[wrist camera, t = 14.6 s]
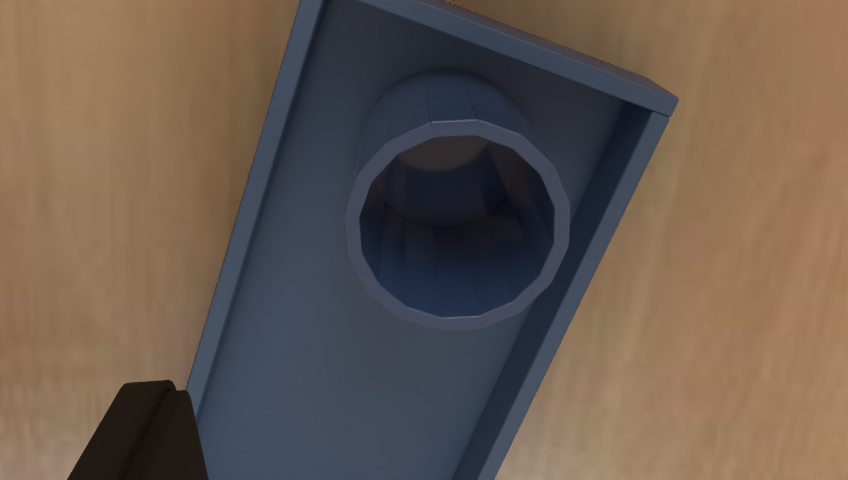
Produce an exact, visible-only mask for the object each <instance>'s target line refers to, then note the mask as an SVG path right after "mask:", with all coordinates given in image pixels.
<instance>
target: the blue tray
mask: <svg viewBox="0 0 848 480" xmlns="http://www.w3.org/2000/svg"><path fill="white" fill-rule="evenodd" d="M435 68H456V69H462V70H466V71H470V72H473V73H476V74H478V75H480V76H483V77H485V78H487V79H488V80H490V81H492V82H493V83H495V84H496V85H497V86H498V87H500V88H501V89H502V90H503V91H504V92H505V93H506V94H507V95H508V96H509V97H510V98H511V100H512V101H513V102H514V103H515V104H516V105H517V106H518V107H519V109H520V111H521V112H522V114H523V115H524V117H525V119H526V120H527V122H528V124H529V125H530V127H531V129H532V130H533V132H534V134H535V135H536V137H537V138H538V140H539V142H540V143H541V145H542V147H543V148H544V150H545V152H546V153H547V155H548V156H549V158H550V160H551V161H552V163H553V165H554V166H555V169H556V171H557V173H558V176H559V178H560V181H561V183H562V185H563V188H564V190H565V193H566V195H567V197H568V200H569V204H570V229H569V245H568V249H567V251H566V253H565V255H564V257H563V259H562V261H561V264H560V266H559V268H558V270H557V272H556V274H555V276H554V279H553V281H552V282H551V283H550V285H549V286H548V287H547V288H546V289H545V290H544V291H543V292H542V293H540V294H539V295H538V296H537V297H536V298H535V299H534V300H533V301H532V302H531V303H530V304H529V305H528V306H527V307H526V308H524V309H523V310H522V311H520V312H519V313H517V314H515V315H513V316H510V317H508V318H505V319H503V320H501V321H498V322H496V323H494V324H491V325H489V326H486V327H484V328H480V329H463V330H444V331H440V330H435V329H432V328H429V327H426V326H422V325H419V324H416V323H413V322H409V321H406V320H403V319H400V317H399V318H398V317H397V316H396V315H394V314H393V313H392V312H391V311H389V310H388V309H387V308H386V307H384V306H383V305H382V304H380V303H379V302H378V301H377V300H375V299H374V298H373V297H372V296H370V295H369V294H368V293H367V292H366V291H365V289H364V287H363V285H362V283H361V281H360V280H359V278H358V276H357V274H356V272H355V271H354V269H353V267H352V265H351V263H350V262H349V260H348V256H347V254H346V243H345V232H344V220H343V215H344V209H345V204H346V199H347V194H348V188H349V183H350V178H351V173H352V168H353V163H354V158H355V152H356V147H357V143H358V140H359V137H360V134H361V131H362V127H363V124H364V122H365V119H366V117H367V115H368V113H369V111H370V109H371V108H372V106H373V105H374V103H375V102H376V101H377V100H378V98H379V97H380V96H381V95H382V94H383V93H384V92H385V91H386V90H387V89H388V88H390V87H391V86H392V85H394V84H395V83H396V82H398V81H400V80H401V79H403V78H405V77H407V76H409V75H412V74H414V73H417V72H420V71H424V70H428V69H435ZM678 101H679V99H678V98H677V97H676V96H674V95H673V94H671V93H670V92H668V91H667V90H665V89H664V88H662V87H661V86H659V85H658V84H656V83H655V82H653V81H652V80H650V79H648V78H645V77H643V76H640V75H637V74H635V73H632V72H629V71H627V70H624V69H621V68H619V67H616V66H614V65H611V64H608V63H606V62H603V61H600V60H598V59H595V58H592V57H590V56H587V55H584V54H582V53H579V52H577V51H574V50H571V49H569V48H566V47H563V46H561V45H558V44H555V43H553V42H550V41H547V40H545V39H542V38H540V37H537V36H534V35H532V34H529V33H526V32H524V31H521V30H518V29H516V28H513V27H510V26H508V25H505V24H502V23H500V22H497V21H495V20H492V19H489V18H487V17H484V16H481V15H479V14H476V13H473V12H471V11H468V10H465V9H463V8H460V7H458V6H455V5H452V4H450V3H447V2H444V1H442V0H300V3H299V6H298V10H297V13H296V16H295V20H294V23H293V27H292V30H291V33H290V37H289V40H288V44H287V47H286V50H285V54H284V57H283V61H282V64H281V67H280V71H279V74H278V78H277V81H276V84H275V88H274V91H273V95H272V98H271V101H270V105H269V108H268V112H267V115H266V118H265V122H264V125H263V129H262V132H261V135H260V139H259V142H258V146H257V149H256V152H255V156H254V159H253V163H252V166H251V169H250V173H249V176H248V180H247V183H246V186H245V190H244V193H243V197H242V200H241V203H240V207H239V210H238V214H237V217H236V220H235V224H234V227H233V231H232V234H231V237H230V241H229V244H228V248H227V251H226V254H225V258H224V261H223V265H222V268H221V271H220V275H219V278H218V282H217V285H216V288H215V292H214V295H213V299H212V302H211V306H210V309H209V312H208V316H207V319H206V323H205V326H204V329H203V333H202V336H201V340H200V343H199V346H198V350H197V353H196V357H195V360H194V363H193V367H192V370H191V374H190V377H189V380H188V384H187V387H186V391H188V393H189V395H190V398H191V401H192V405H193V410H194V415H195V419H196V424H197V428H198V433H199V437H200V442H201V446H202V451H203V455H204V460H205V465H206V469H207V474H208V478H209V480H494V478H495V476H496V474H497V472H498V470H499V468H500V466H501V464H502V462H503V460H504V458H505V456H506V454H507V452H508V450H509V448H510V446H511V444H512V441H513V439H514V437H515V435H516V433H517V431H518V429H519V427H520V425H521V423H522V421H523V419H524V417H525V415H526V413H527V411H528V409H529V407H530V405H531V402H532V400H533V398H534V396H535V394H536V392H537V390H538V388H539V386H540V384H541V382H542V380H543V378H544V376H545V374H546V372H547V370H548V368H549V366H550V363H551V361H552V359H553V357H554V355H555V353H556V351H557V349H558V347H559V345H560V343H561V341H562V339H563V337H564V335H565V333H566V331H567V329H568V326H569V324H570V322H571V320H572V318H573V316H574V314H575V312H576V310H577V308H578V306H579V304H580V302H581V300H582V298H583V296H584V294H585V292H586V290H587V287H588V285H589V283H590V281H591V279H592V277H593V275H594V273H595V271H596V269H597V267H598V265H599V263H600V261H601V259H602V257H603V255H604V253H605V251H606V248H607V246H608V244H609V242H610V240H611V238H612V236H613V234H614V232H615V230H616V228H617V226H618V224H619V222H620V220H621V218H622V216H623V214H624V211H625V209H626V207H627V205H628V203H629V201H630V199H631V197H632V195H633V193H634V191H635V189H636V187H637V185H638V183H639V181H640V179H641V177H642V175H643V172H644V170H645V168H646V166H647V164H648V162H649V160H650V158H651V156H652V154H653V152H654V150H655V148H656V146H657V144H658V142H659V140H660V138H661V136H662V133H663V131H664V129H665V127H666V125H667V123H668V121H669V117H671V115H672V113H673V111H674V109H675V107H676V105H677V103H678Z"/></svg>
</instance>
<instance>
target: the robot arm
mask: <svg viewBox="0 0 848 480" xmlns="http://www.w3.org/2000/svg"><path fill="white" fill-rule="evenodd" d="M67 480H209V478H208V474H207V469H206V465H205V460H204V455H203V451H202V446H201V442H200V437H199V433H198V428H197V424H196V419H195V415H194V410H193V405H192V401H191V398H190V395H189V393H188V391H186V390H180V391H177V390H176V387H175V385H174V384H173V382H172V381H170V380H162V381H148V382H133V383H126V384H124V385H123V386H122V387H121V389H120V390H119V392H118V394H117V395H116V397H115V399H114V401H113V402H112V404H111V406H110V407H109V409H108V411H107V412H106V414H105V416H104V418H103V419H102V421H101V423H100V424H99V426H98V428H97V429H96V431H95V433H94V435H93V436H92V438H91V440H90V441H89V443H88V445H87V446H86V448H85V450H84V452H83V453H82V455H81V457H80V458H79V460H78V462H77V463H76V465H75V467H74V469H73V470H72V472H71V474H70V475H69V477H68V479H67Z"/></svg>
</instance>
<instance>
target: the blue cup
mask: <svg viewBox="0 0 848 480" xmlns="http://www.w3.org/2000/svg"><path fill="white" fill-rule="evenodd" d="M343 220H344V232H345V243H346V254H347V256H348V260H349V262H350V263H351V265H352V267H353V269H354V271H355V272H356V274H357V276H358V278H359V280H360V281H361V283H362V285H363V287H364V289H365V291H366V292H367V293H368V294H369V295H370V296H372V297H373V298H374V299H375V300H377V301H378V302H379V303H380V304H382V305H383V306H384V307H386V308H387V309H388V310H389V311H391V312H392V313H393V314H394V315H396V316H397V317H398V318H399V317H400V319H403V320H406V321H409V322H413V323H416V324H419V325H422V326H426V327H429V328H432V329H435V330H440V331H444V330H463V329H480V328H484V327H486V326H489V325H491V324H494V323H496V322H498V321H501V320H503V319H505V318H508V317H510V316H513V315H515V314H517V313H519V312H520V311H522V310H523V309H524V308H526V307H527V306H528V305H529V304H530V303H531V302H532V301H533V300H534V299H535V298H536V297H537V296H538V295H539V294H540V293H542V292H543V291H544V290H545V289H546V288H547V287H548V286H549V285H550V283H551V282H552V281H553V279H554V276H555V274H556V272H557V270H558V268H559V266H560V264H561V261H562V259H563V257H564V255H565V253H566V251H567V249H568V245H569V229H570V204H569V200H568V197H567V195H566V193H565V190H564V188H563V185H562V183H561V181H560V178H559V176H558V173H557V171H556V169H555V166H554V165H553V163H552V161H551V160H550V158H549V156H548V155H547V153H546V152H545V150H544V148H543V147H542V145H541V143H540V142H539V140H538V138H537V137H536V135H535V134H534V132H533V130H532V129H531V127H530V125H529V124H528V122H527V120H526V119H525V117H524V115H523V114H522V112H521V111H520V109H519V107H518V106H517V105H516V104H515V103H514V102H513V101H512V100H511V98H510V97H509V96H508V95H507V94H506V93H505V92H504V91H503V90H502V89H501V88H500V87H498V86H497V85H496V84H495V83H493V82H492V81H490V80H488V79H487V78H485V77H483V76H480V75H478V74H476V73H473V72H470V71H466V70H462V69H456V68H435V69H428V70H424V71H420V72H417V73H414V74H412V75H409V76H407V77H405V78H403V79H401V80H400V81H398V82H396V83H395V84H394V85H392V86H391V87H390V88H388V89H387V90H386V91H385V92H384V93H383V94H382V95H381V96H380V97H379V98H378V100H377V101H376V102H375V103H374V105H373V106H372V108H371V109H370V111H369V113H368V115H367V117H366V119H365V122H364V124H363V127H362V131H361V134H360V137H359V140H358V143H357V147H356V152H355V158H354V163H353V168H352V173H351V178H350V183H349V188H348V194H347V199H346V204H345V209H344V215H343Z"/></svg>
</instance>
